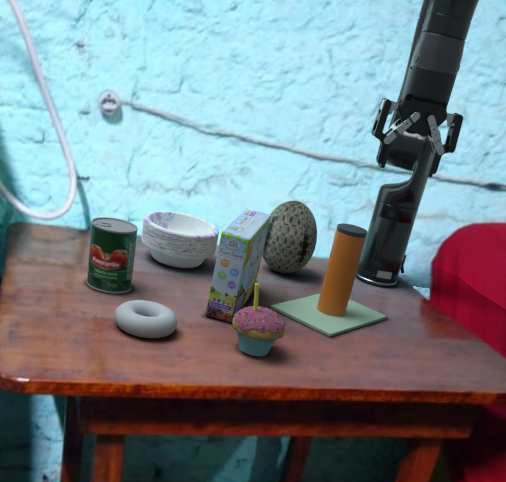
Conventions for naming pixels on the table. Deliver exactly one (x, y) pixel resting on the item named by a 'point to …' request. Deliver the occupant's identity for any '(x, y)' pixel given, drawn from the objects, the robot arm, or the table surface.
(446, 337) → the table surface
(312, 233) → the decorative egg
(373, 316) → the placemat
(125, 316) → the donut
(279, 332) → the cupcake
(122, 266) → the canned tomato
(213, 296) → the snack box
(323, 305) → the crisps tube
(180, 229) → the paper bowls
